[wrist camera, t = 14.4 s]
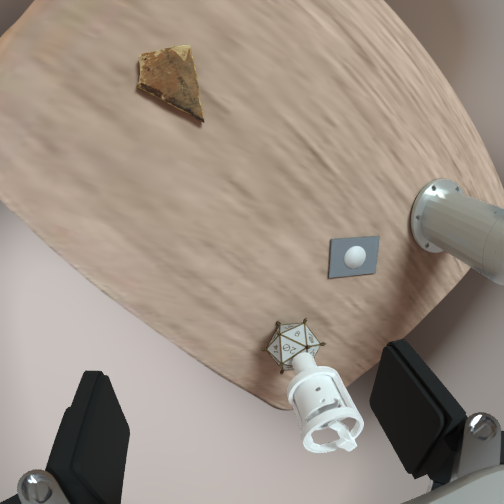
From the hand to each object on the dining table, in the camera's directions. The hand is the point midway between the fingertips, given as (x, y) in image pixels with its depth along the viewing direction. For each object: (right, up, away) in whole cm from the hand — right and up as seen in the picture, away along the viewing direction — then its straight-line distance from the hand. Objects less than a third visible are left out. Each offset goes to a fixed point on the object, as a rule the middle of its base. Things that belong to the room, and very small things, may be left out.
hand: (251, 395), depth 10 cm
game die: (+6, -8, +41) cm, 42 cm away
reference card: (+15, +4, +38) cm, 41 cm away
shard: (-9, +27, +26) cm, 39 cm away
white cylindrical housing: (+7, -10, +34) cm, 36 cm away
